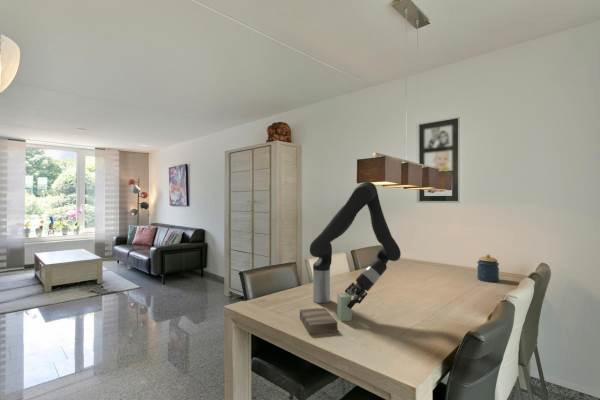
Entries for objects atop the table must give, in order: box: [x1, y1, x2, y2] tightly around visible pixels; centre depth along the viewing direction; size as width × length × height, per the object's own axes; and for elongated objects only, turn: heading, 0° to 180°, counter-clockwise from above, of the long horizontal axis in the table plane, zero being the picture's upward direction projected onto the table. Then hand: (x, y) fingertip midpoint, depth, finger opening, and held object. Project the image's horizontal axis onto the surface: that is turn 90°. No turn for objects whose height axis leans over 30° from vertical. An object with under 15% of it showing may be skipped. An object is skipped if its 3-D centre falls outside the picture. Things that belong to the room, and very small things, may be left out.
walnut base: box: [299, 307, 338, 335], centre depth 136 cm, size 18×12×4 cm, turn 12°
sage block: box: [336, 292, 352, 322], centre depth 142 cm, size 5×5×11 cm
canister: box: [476, 254, 500, 283], centre depth 213 cm, size 13×13×18 cm
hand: (345, 304), depth 143 cm, fingers open, 8 cm apart
